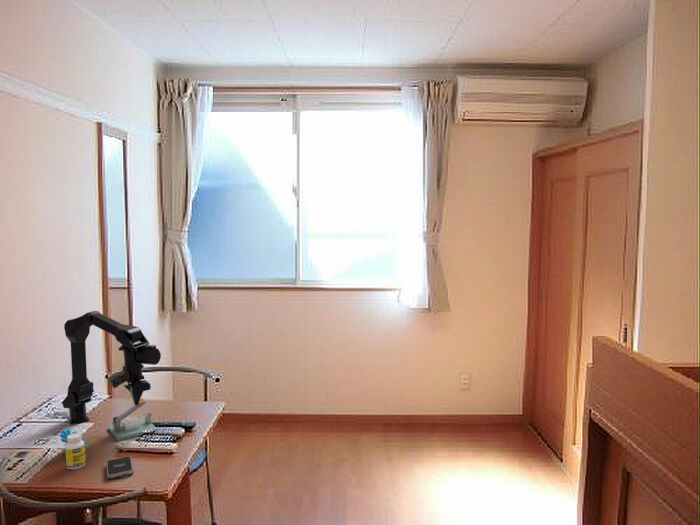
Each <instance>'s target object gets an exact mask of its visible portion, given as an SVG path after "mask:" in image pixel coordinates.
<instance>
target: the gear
mask: <svg viewBox="0 0 700 525" xmlns="http://www.w3.org/2000/svg"><path fill="white" fill-rule="evenodd" d="M71 432H72V433H71ZM75 433H78V432H77V431H76V430H74V431H72V429H67V430H66V429H63V430H62V431H61V434H60V435H59V437H60V441H61V442H62V443H65V444H64V446H65V445H66V444H67V443H68V442H67V436H69V435H71V434H75ZM79 433H80V432H79ZM80 434H81V437H82V439H81V440H83V441H84V444H85V452H87V448H89V445H88V444H87V442H88V441H87V440H85V439H83V438H84V437H83V435H84V434H83V433H80ZM61 452H62V453H63V454H66V451H65V448H64V449H63V450H62V451H61Z"/></svg>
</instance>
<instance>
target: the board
mask: <svg viewBox="0 0 700 525" xmlns="http://www.w3.org/2000/svg"><path fill="white" fill-rule="evenodd" d="M137 418H138V417H137ZM138 419H139V420H140V428H138V429H134V430H130V431H125V430H124V429H123V428H122V427H121V424H120V429H121V431H119V432H114V431H113V427H112V424H110V425H108V430H109V431H110V433H111V434H112V436H114V437H115V439H116V440H117V441H118V442H120V441H124V440H128V439H132V438H136V437H139V435H140V436H142V435H141V434H142V433H143V431H145V430H146V429H153V428H156V429H157V427H156V426H155V425H154V424H153V423H152V422H151V424H147V423H146V422H145V416H142V417H139V418H138Z"/></svg>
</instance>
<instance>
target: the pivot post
mask: <svg viewBox="0 0 700 525" xmlns="http://www.w3.org/2000/svg"><path fill="white" fill-rule="evenodd" d="M117 417H119V416H114V417H112V422H111V425H112V427H113V431H114V432H119V431H121V429H120V424H121V420H120V419H119V420H116V418H117Z"/></svg>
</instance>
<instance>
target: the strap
mask: <svg viewBox="0 0 700 525" xmlns="http://www.w3.org/2000/svg"><path fill="white" fill-rule="evenodd" d="M146 404H147V403H146V401H145V399H144V398H142V397H141V398H140V401H139V403H138V405H133V406H131V407H130V408H129V409H127V411H125V412H123V413H122V414H120V415H119V416H118V417H117V416H116V417H117V418H116V420H119V419H120V420H123V419H124V418H127V417H129V415H131V414H132V413H134V412H136V411H137V410H138V409H140V408H142V407H143V406H144V405H146Z"/></svg>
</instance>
